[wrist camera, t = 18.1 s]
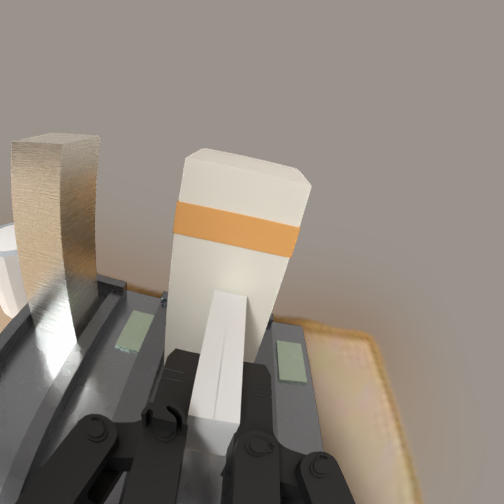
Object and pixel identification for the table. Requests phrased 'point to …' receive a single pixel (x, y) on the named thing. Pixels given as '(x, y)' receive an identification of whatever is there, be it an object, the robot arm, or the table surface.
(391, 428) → the table surface
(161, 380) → the robot arm
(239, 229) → the handle
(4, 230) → the white short cylinder
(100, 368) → the breaker panel
